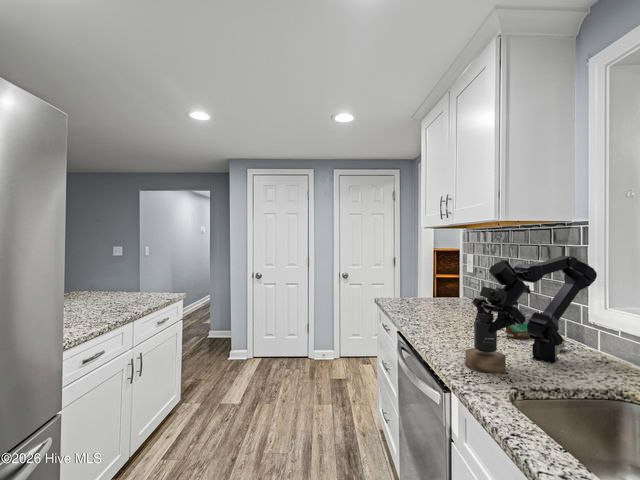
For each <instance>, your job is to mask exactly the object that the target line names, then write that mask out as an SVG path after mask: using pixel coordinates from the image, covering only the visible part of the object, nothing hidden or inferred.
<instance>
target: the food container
mask: <svg viewBox="0 0 640 480" xmlns="http://www.w3.org/2000/svg"><path fill="white" fill-rule="evenodd" d="M522 314H523V313H522ZM523 315H524V316H525V322H524V323H523V325H519V324H516V323H515V322H514V323H515V325H511V326H508V327H506V328H505V335H506V338H508V339H514V340H527V339H529V338H530V336H529V333H528V330H527V324H528V322H529V321H528V320H529V319H530V318H531V317H532V315H531V313H529V312H525V313H524V314H523Z"/></svg>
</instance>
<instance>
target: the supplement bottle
mask: <svg viewBox="0 0 640 480" xmlns="http://www.w3.org/2000/svg"><path fill="white" fill-rule="evenodd" d="M476 316H477V315H476ZM494 316H495V315H494V312H493V313H492V312H491V313H489V312H478V316H477V318H478V320H477V321H475V320H474V322H475V323H473V328H474V329H473V330H474V331H473V348H475V349H477V350H479V351H483V352H495V351H497V346H498V331H496V332H494V333H489V329H490V327H491V326H492V324H493V323H494V321H495V318H494Z"/></svg>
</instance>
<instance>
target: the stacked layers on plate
mask: <svg viewBox="0 0 640 480" xmlns="http://www.w3.org/2000/svg"><path fill="white" fill-rule="evenodd" d="M560 335H561V334H560ZM561 336H562V338H563V342H562V344H561V345H559V346H557V354H560V352H561V350H562V349H564V348H566V345H565V342H566V341H567V340H566V339H565V338H566V336H564V335H561Z"/></svg>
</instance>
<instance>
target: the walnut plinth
mask: <svg viewBox="0 0 640 480" xmlns="http://www.w3.org/2000/svg"><path fill="white" fill-rule="evenodd" d="M464 353H465V355H464V357H465V360H464V361H465V363H464V364H465V365H466V367H467V368H469V369H471V370H473V371H476V372H479V373H485V374H501V373H504V372H506V369H507V367H506V363H507V362H506V359H507V358H506V357H507V356H506V355H505V354H504V353H503V352H500V351H497V350H496V351H495V352H483V351H479V350H477V349H475V347H473V348H468V349H466V350H465V352H464Z"/></svg>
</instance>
